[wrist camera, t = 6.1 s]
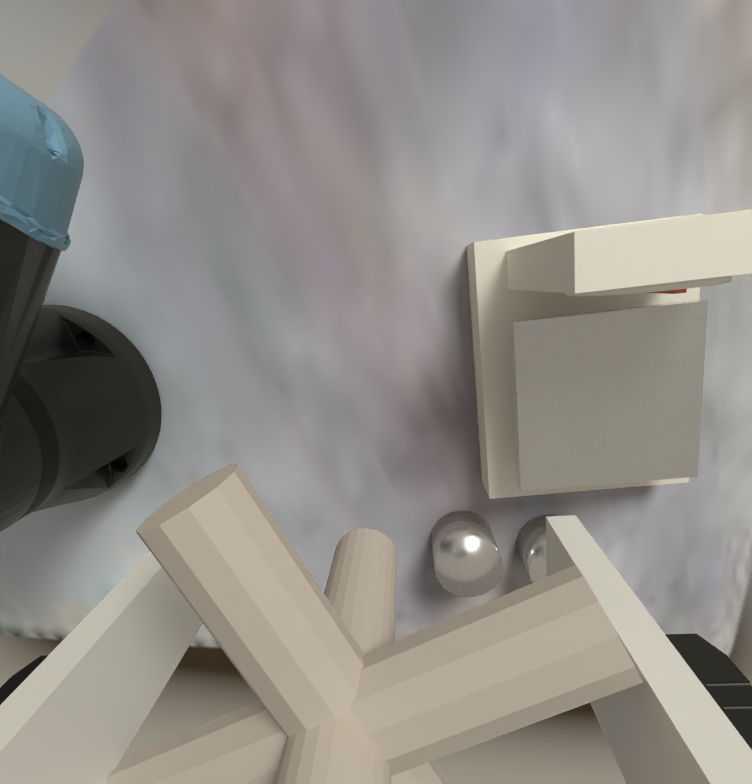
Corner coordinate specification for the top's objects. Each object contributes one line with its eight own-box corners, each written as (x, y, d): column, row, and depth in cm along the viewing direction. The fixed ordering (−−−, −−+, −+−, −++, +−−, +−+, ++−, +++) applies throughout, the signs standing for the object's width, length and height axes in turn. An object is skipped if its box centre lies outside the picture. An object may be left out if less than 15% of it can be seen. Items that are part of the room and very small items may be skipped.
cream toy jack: (596, 620, 13) (1178, 1625, 3) (310, 736, 15) (126, 1626, 5) (437, 322, 11) (655, 543, 2) (134, 490, 13) (-694, 1114, 3)
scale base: (481, 481, 35) (536, 606, 21) (466, 245, 31) (521, 216, 17) (663, 465, 34) (841, 585, 20) (673, 219, 30) (905, 167, 16)
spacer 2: (517, 570, 37) (531, 604, 33) (515, 517, 36) (529, 545, 32) (578, 566, 37) (600, 599, 33) (578, 512, 35) (600, 540, 32)
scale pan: (516, 484, 30) (520, 491, 29) (509, 321, 27) (513, 322, 26) (687, 470, 29) (697, 476, 28) (696, 300, 26) (707, 300, 25)
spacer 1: (433, 566, 37) (437, 599, 33) (428, 513, 36) (432, 541, 32) (493, 561, 37) (504, 594, 33) (489, 508, 36) (501, 535, 32)
